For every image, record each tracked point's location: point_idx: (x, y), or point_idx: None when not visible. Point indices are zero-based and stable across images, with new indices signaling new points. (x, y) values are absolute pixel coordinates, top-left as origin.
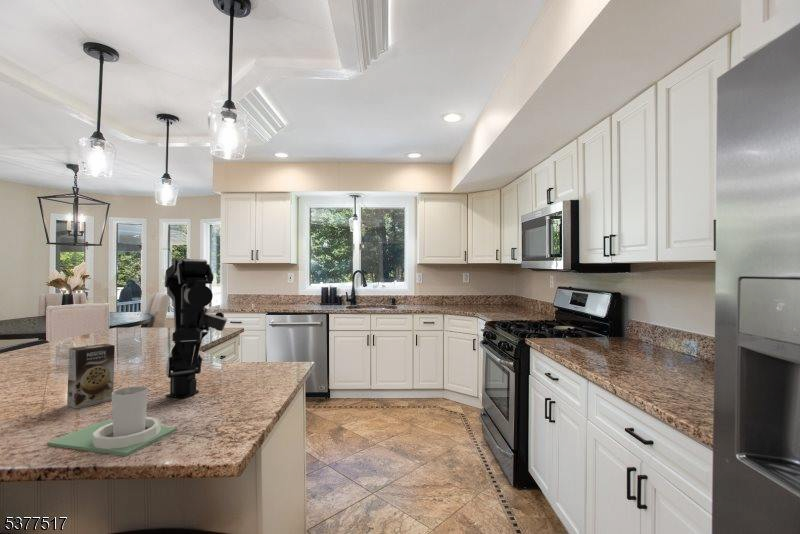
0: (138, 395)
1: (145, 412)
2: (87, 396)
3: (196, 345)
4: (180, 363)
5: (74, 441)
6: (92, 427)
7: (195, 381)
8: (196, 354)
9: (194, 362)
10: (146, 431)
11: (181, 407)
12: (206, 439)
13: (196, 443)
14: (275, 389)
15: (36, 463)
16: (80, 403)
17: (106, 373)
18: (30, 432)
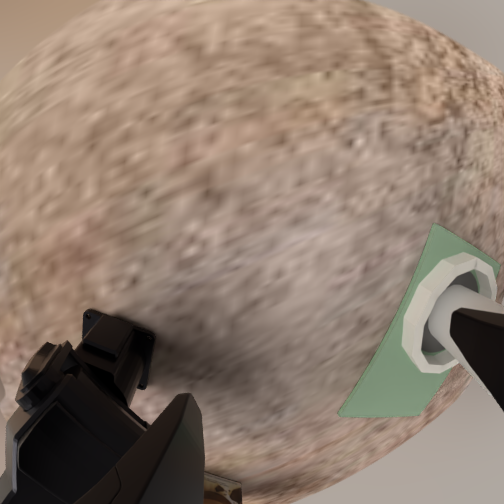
0: None
1: (482, 302)
2: (227, 494)
3: (171, 496)
4: (134, 441)
5: (434, 384)
6: (378, 408)
7: (92, 335)
8: (190, 419)
9: (83, 392)
10: (488, 265)
11: (247, 301)
12: (473, 136)
13: (484, 153)
14: (76, 40)
15: (468, 373)
16: (235, 488)
17: None
18: (349, 465)
